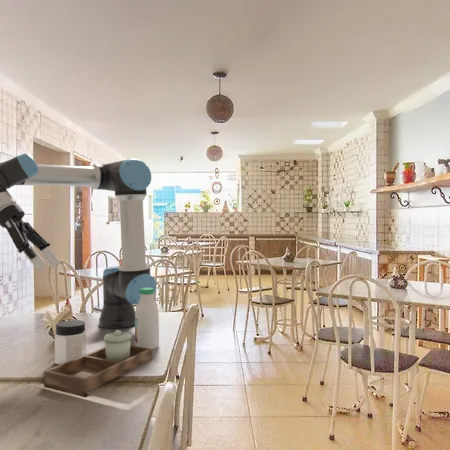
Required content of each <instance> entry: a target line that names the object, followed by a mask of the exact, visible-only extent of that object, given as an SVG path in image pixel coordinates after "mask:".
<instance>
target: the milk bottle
mask: <svg viewBox="0 0 450 450" xmlns="http://www.w3.org/2000/svg"><path fill="white" fill-rule="evenodd" d="M153 295H154V296H155V294H154V289H153V288H141V289H140V301H139V304H138V305H137V307H136V309H135V312H136V313H135V325H134V346H138V347H143V348H149V349H152V350H154V349H157V348H159V346H160V317H159V309H158V307H157V304H156V303H155V299H154V296H153Z"/></svg>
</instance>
